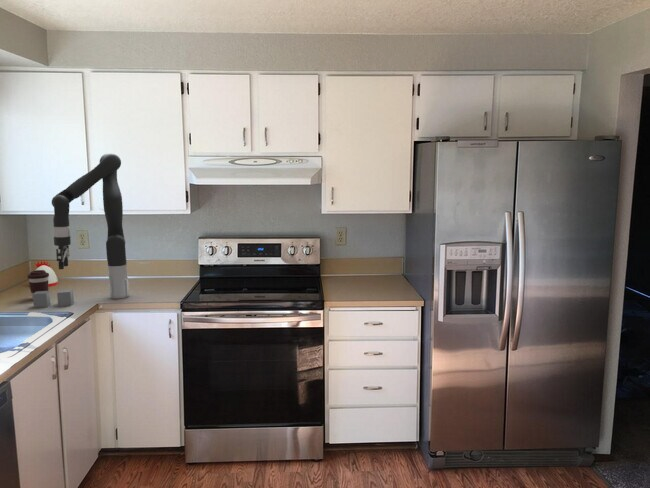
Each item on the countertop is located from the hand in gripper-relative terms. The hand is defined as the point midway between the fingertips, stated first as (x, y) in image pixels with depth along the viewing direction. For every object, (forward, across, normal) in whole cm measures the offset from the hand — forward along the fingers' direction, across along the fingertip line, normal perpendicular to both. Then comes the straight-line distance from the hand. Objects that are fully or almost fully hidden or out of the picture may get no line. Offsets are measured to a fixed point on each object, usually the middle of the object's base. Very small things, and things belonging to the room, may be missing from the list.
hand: (63, 267), depth 265 cm
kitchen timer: (+20, +52, +23) cm, 60 cm away
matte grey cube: (+19, -1, -1) cm, 19 cm away
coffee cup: (+20, +15, +16) cm, 29 cm away
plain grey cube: (+19, -1, +10) cm, 22 cm away
